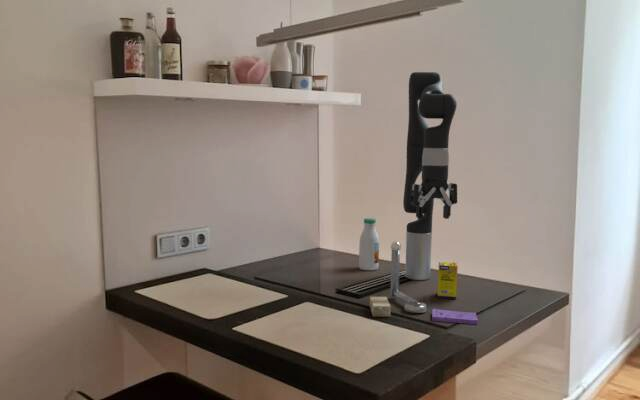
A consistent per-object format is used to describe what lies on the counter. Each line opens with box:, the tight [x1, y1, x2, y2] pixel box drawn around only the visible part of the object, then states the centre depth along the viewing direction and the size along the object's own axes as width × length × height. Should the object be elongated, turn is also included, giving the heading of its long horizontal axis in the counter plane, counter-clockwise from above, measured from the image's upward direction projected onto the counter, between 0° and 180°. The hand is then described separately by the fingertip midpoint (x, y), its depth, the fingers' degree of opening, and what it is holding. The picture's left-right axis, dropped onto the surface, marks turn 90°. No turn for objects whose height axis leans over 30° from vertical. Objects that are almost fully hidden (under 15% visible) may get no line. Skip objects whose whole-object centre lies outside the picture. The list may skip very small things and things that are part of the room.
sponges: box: [431, 308, 479, 325], centre depth 159 cm, size 7×13×2 cm, turn 78°
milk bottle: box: [358, 217, 380, 271], centre depth 219 cm, size 8×8×20 cm
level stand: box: [369, 296, 392, 318], centre depth 164 cm, size 11×5×3 cm, turn 1°
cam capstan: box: [389, 241, 427, 314], centre depth 171 cm, size 18×6×18 cm, turn 21°
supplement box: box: [436, 261, 458, 300], centre depth 182 cm, size 6×6×11 cm
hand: (433, 218), depth 163 cm, fingers open, 8 cm apart
